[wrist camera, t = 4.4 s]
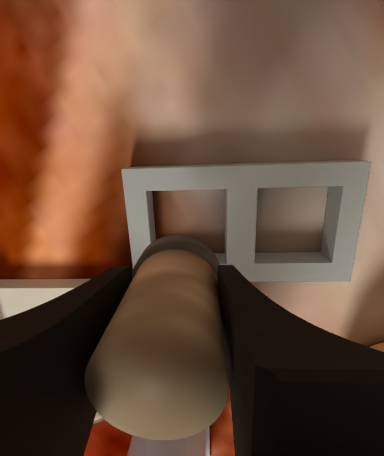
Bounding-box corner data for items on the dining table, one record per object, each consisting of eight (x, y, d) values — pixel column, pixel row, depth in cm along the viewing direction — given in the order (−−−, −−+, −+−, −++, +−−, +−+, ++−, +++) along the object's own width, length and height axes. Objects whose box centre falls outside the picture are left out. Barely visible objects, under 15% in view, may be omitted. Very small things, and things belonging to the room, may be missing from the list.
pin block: (337, 268, 21) (350, 281, 19) (140, 270, 22) (134, 282, 20) (354, 159, 18) (371, 161, 16) (129, 166, 19) (121, 169, 17)
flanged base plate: (160, 362, 24) (155, 389, 22) (19, 360, 25) (-2, 386, 23) (153, 278, 22) (146, 296, 19) (-5, 279, 23) (-33, 297, 20)
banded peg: (231, 245, 12) (256, 344, 6) (210, 318, 13) (214, 458, 7) (144, 225, 11) (83, 306, 6) (131, 301, 13) (71, 428, 7)
